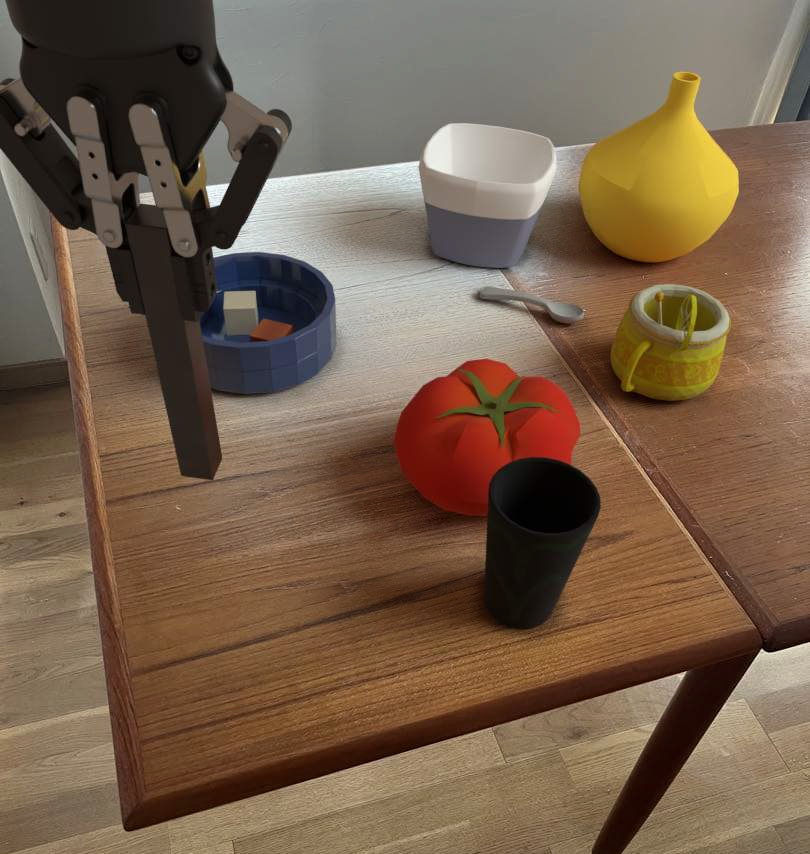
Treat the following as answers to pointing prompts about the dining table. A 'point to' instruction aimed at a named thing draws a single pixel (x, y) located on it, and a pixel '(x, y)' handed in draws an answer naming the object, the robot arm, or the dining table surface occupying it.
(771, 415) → the dining table surface
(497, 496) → the cup
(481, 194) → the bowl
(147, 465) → the dining table surface
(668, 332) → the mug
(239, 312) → the block
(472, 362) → the tomato
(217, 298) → the bowl
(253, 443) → the dining table surface
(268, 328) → the block
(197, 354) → the stick
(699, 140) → the vase
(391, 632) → the dining table surface
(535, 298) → the spoon
